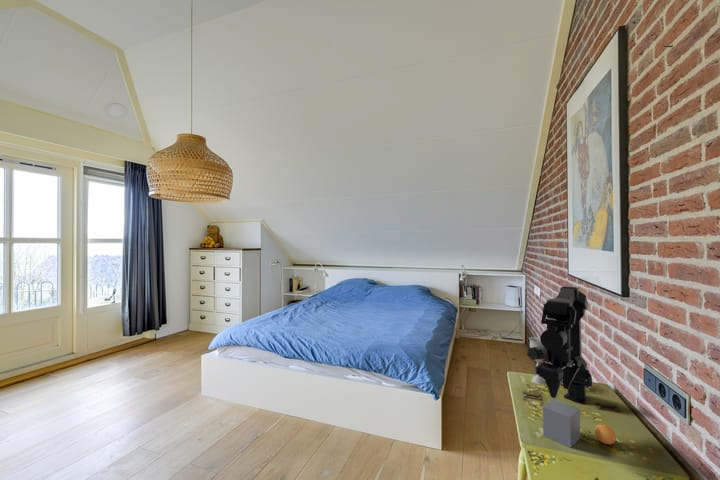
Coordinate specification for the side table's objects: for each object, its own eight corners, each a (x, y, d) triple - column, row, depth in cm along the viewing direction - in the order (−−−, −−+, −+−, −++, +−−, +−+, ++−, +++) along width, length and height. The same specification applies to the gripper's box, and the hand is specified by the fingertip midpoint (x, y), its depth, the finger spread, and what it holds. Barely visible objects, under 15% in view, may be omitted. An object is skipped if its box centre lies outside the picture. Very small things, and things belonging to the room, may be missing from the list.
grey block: (553, 426, 100) (553, 399, 100) (580, 438, 94) (579, 408, 94) (543, 435, 96) (542, 406, 96) (570, 447, 90) (570, 417, 90)
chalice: (550, 386, 127) (550, 342, 127) (532, 385, 129) (531, 341, 129) (543, 378, 135) (543, 337, 135) (526, 377, 136) (526, 336, 136)
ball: (597, 435, 96) (597, 419, 96) (618, 443, 92) (618, 426, 92) (592, 441, 93) (592, 424, 93) (613, 450, 89) (613, 433, 89)
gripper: (544, 330, 108) (544, 376, 108) (517, 341, 96) (518, 392, 96) (581, 338, 99) (582, 388, 99) (557, 351, 87) (558, 407, 87)
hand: (559, 393), depth 95 cm, fingers open, 9 cm apart
